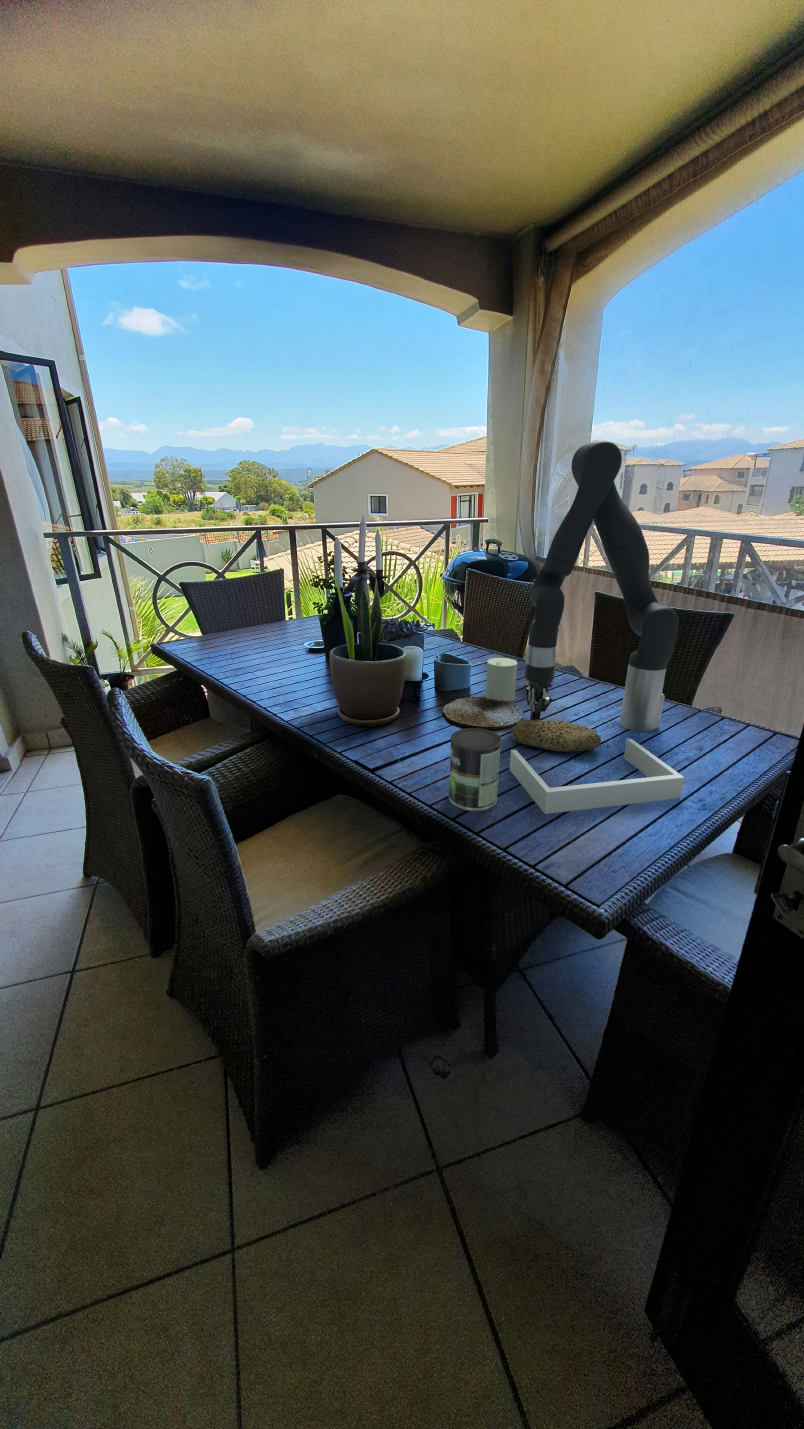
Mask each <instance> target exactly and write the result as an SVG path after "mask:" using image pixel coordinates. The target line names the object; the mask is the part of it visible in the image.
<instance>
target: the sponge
mask: <svg viewBox="0 0 804 1429" xmlns="http://www.w3.org/2000/svg"><path fill="white" fill-rule="evenodd" d="M512 736H513V738H514V741H515V742H518V743H519V744H523V745H526V746H530V747H537V748H538V749H543V750H549V751H552V752H553V751H554V752H565V753H568V752H569V753H571V752H572V753H573V752H583V751H586V752H587V751H590V750H594V749H597V748H600V747H601V742H602V736H601V735H600V734H598V733H597V731H596V730H595V729H593V728H590V727H587V726H585V725H581V724H578V723H573V722H569V721H564V720H548V721H542V720H541V719H540V720H537V719H535V720H530V719H520V720H519V721H517V723H516V725H514V726H512Z"/></svg>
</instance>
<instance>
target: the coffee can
mask: <svg viewBox="0 0 804 1429" xmlns="http://www.w3.org/2000/svg"><path fill="white" fill-rule="evenodd" d="M501 745H502V737H501V736H500V735H499V734H498V733H496V732H495V731H492V730H488V729H485V728H479V727H478V728H477V727H469V728H462V729H459V730H456V731H454V732H453V733H451V734H450V757H449V758H450V760H449V762H450V763H449V786H448V787H449V788H448V790H449V791H448V799H449V802H450V803H451V804H452V805H453V806H455V807H456V808H458V809H461V810H465V811H469V812H480V811H481V812H482V811H485V810H489V809H491V808H493V807H494V806H495V805H496V804H497V801H498V786H499V785H498V784H499V783H498V782H499V773H500V772H499V771H500V758H501Z"/></svg>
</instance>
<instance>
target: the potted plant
mask: <svg viewBox="0 0 804 1429" xmlns="http://www.w3.org/2000/svg"><path fill="white" fill-rule="evenodd" d="M329 576H330V577H331V578H332V579H333V580H334V582H335V586H336V590H337V594H338V599H339V603H340V608H341V616H342V622H343V623H342V624H343V630H344V634H345V640H346V644H343V645H339V646H336V647H333V648H332V649H330V651H329V654H328V655H329V669H330V676H331V682H332V688H333V693H334V695H335V696H334V697H335V699H336V701H337V704H338V705H339V708H338V710H337V712H338V716H339V717H340V718H341V719H342V721H343V722H345V723H348V724H351V725H354V726H357V727H365V728H367V727H368V728H369V727H370V728H371V727H378V726H379V727H380V726H385V725H388V724H390V723H392V722H393V721H395V719H397V717H398V715H399V714H400V708H399V707H398V706H399V704H400V702H401V699H402V695H403V692H404V691H403V690H404V686H405V685H404V684H405V679H406V671H407V656H408V655H407V654H408V653H407V651H406V649H405V648H402V647H400V646H398V645H395V644H389V643H382V642H380V643H379V639H380V637H381V636H380V635H381V633H382V631H383V610H382V606H381V599H380V598H381V597H380V592H379V588H378V580H377V578H375V579H374V584H375V585H374V586H375V587H374V594H373V599H372V602H371V608H370V605H369V603H370V602H369V600H368V595H367V593H366V590H365V588H364V587H363V588H362V589H361V590H362V591H361V597H360V603H359V612H360V620H361V621H360V622H361V628H362V630H361V631H362V634H361V635H362V639H361V640H362V643H355V636H354V634H355V633H354V628H353V624H352V622H351V619H350V616H349V614H348V612H347V609H346V607H345V603H344V599H343V594H342V592H341V589H340V588H341V587H340V586H339V584H338V582H337V579H336V578H335V577H334V576H333V575H332V574H329Z"/></svg>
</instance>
